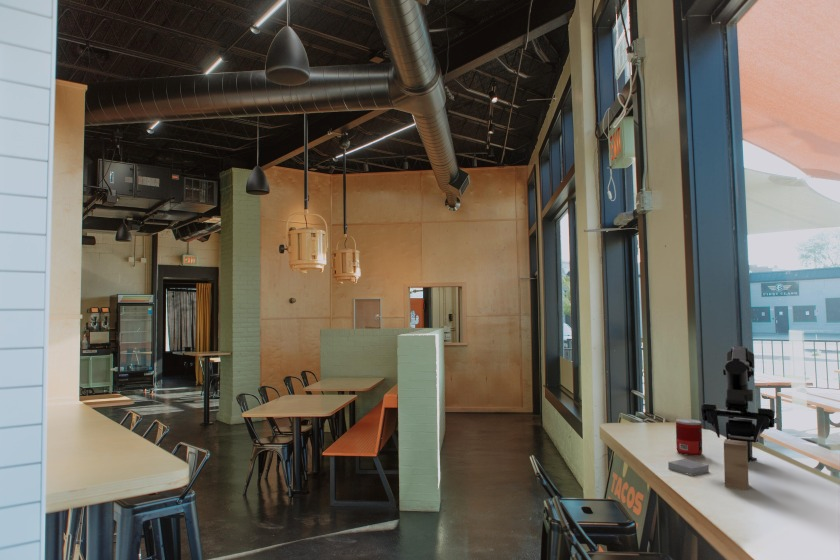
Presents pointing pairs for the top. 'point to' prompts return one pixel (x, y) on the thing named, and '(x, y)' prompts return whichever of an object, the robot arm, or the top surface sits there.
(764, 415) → the robot arm
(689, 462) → the slate tile
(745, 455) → the walnut block
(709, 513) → the top surface
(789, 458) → the top surface
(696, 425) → the canned food
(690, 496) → the top surface
